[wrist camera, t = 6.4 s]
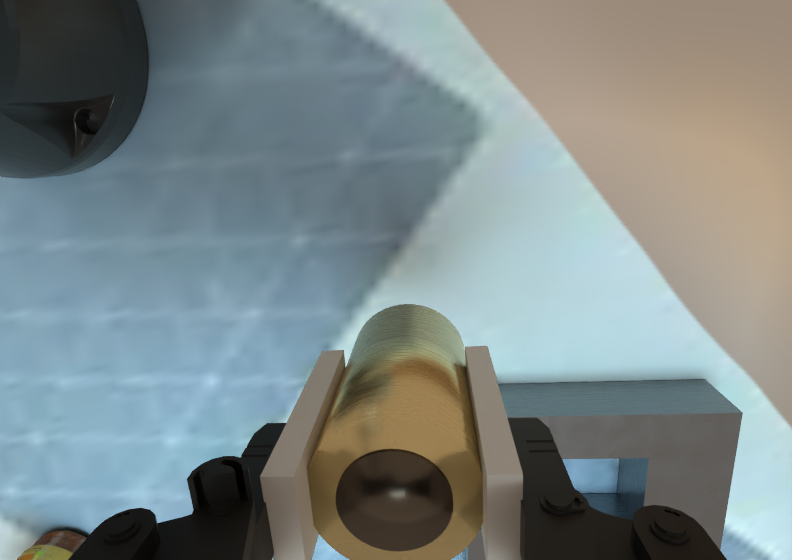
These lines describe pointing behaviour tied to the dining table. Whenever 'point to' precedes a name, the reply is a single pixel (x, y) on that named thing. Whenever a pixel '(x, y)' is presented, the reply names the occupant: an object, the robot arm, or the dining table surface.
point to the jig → (640, 442)
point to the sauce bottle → (54, 546)
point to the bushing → (400, 445)
